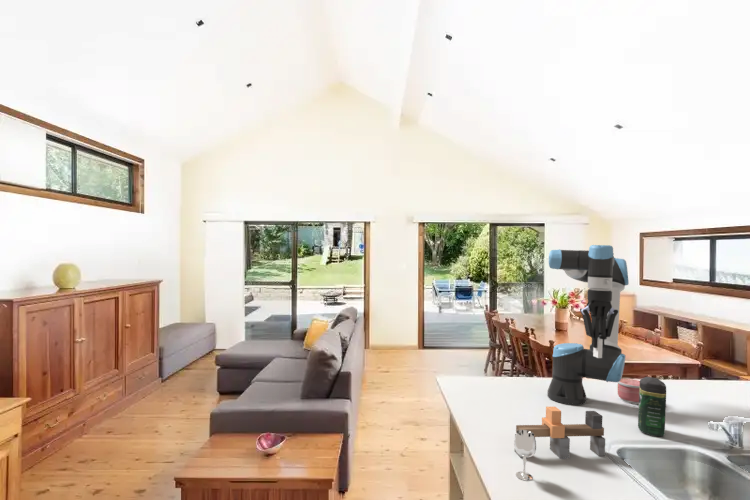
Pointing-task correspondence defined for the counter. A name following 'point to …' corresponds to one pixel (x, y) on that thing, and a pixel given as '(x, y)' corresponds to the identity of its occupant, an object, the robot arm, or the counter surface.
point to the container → (629, 390)
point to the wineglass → (525, 450)
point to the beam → (563, 444)
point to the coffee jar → (652, 406)
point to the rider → (554, 422)
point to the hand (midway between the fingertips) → (597, 356)
